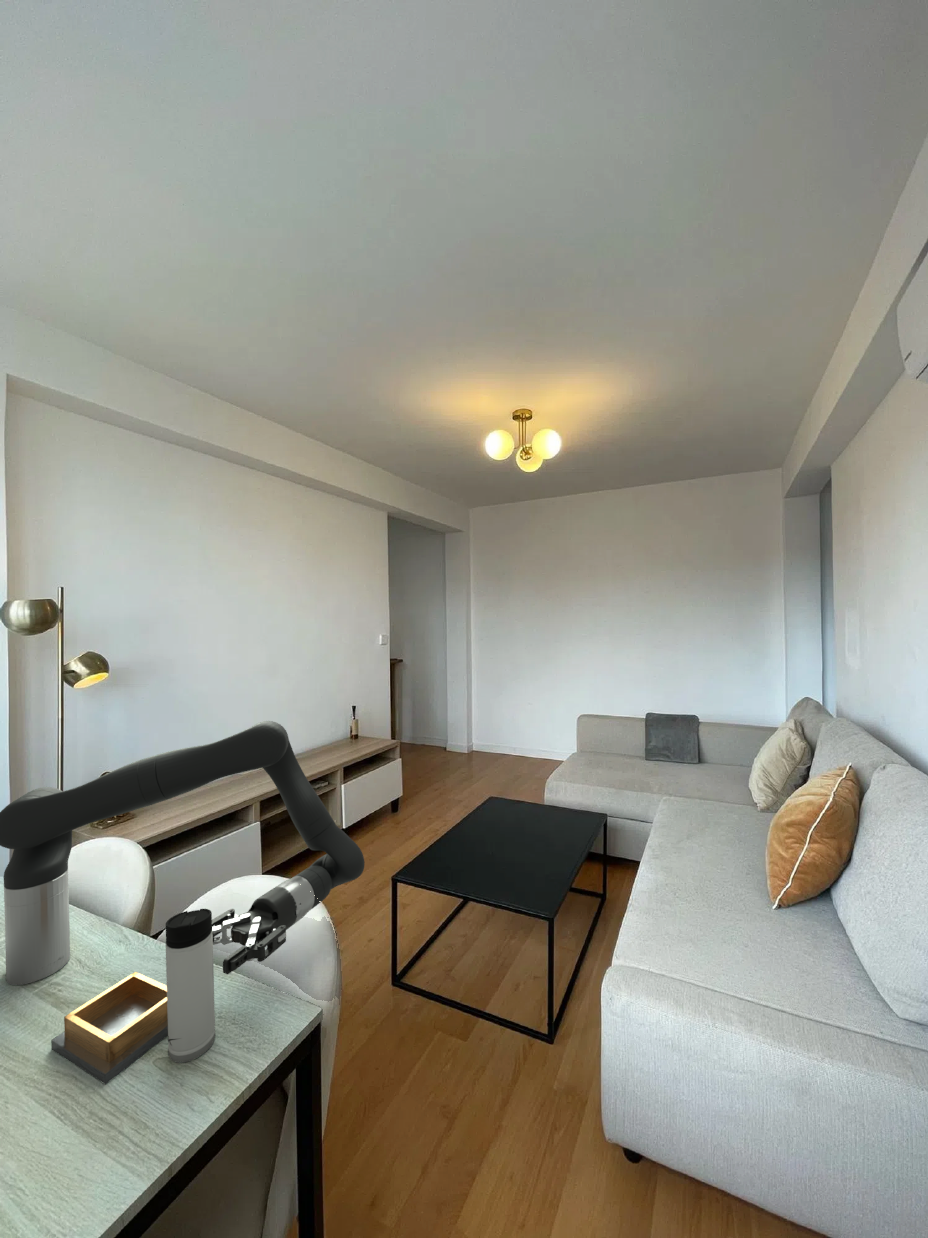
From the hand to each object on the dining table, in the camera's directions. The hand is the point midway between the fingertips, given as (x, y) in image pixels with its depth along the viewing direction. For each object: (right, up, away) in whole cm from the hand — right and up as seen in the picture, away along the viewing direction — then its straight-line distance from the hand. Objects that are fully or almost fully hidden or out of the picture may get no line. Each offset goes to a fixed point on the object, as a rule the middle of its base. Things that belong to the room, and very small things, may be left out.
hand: (205, 960), depth 78 cm
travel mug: (0, -11, -3) cm, 12 cm away
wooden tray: (-13, -11, 0) cm, 17 cm away
